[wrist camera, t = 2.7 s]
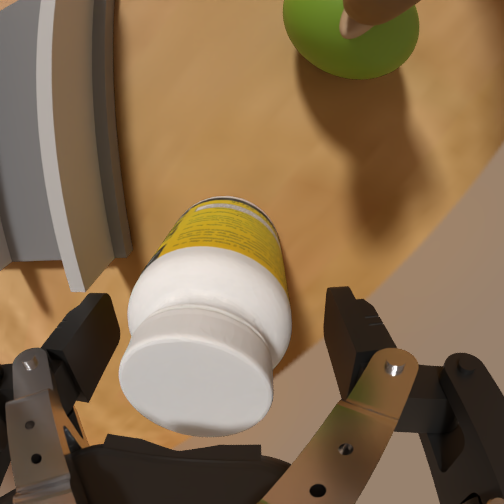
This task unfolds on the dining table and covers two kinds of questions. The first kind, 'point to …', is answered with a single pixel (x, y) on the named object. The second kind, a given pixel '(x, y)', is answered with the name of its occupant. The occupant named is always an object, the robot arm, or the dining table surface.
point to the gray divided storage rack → (60, 139)
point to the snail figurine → (353, 34)
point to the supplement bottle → (209, 322)
